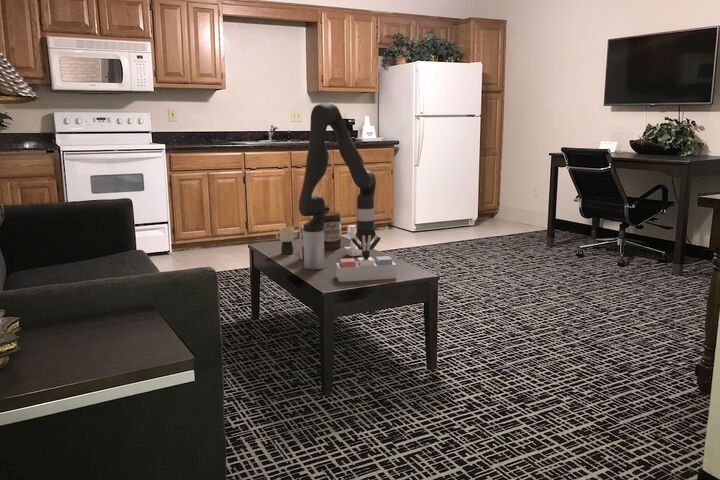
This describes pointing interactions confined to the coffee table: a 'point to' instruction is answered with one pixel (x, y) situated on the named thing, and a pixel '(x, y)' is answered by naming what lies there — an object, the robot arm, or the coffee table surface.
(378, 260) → the blue key
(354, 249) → the figurine
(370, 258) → the cream white block
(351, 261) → the red key
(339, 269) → the control box
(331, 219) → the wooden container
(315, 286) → the coffee table surface
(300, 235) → the candy bar box
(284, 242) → the character mug
